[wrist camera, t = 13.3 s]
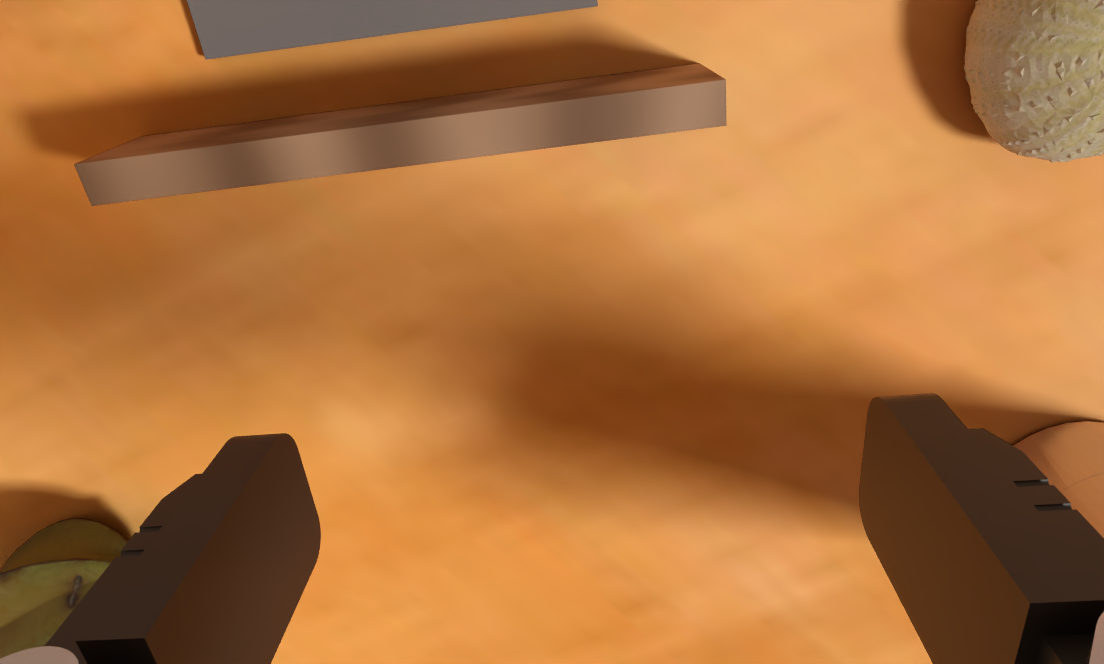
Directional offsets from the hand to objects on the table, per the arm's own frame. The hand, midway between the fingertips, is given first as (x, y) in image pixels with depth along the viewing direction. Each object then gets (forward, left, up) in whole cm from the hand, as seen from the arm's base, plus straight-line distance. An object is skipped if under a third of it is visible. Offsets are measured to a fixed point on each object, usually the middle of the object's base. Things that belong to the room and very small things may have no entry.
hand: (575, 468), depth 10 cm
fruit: (+31, +21, -24) cm, 44 cm away
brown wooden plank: (+6, -1, -24) cm, 24 cm away
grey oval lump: (-21, -1, -24) cm, 32 cm away
